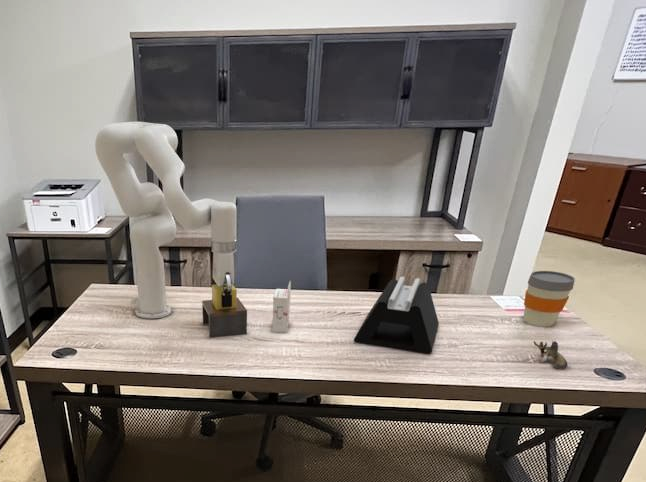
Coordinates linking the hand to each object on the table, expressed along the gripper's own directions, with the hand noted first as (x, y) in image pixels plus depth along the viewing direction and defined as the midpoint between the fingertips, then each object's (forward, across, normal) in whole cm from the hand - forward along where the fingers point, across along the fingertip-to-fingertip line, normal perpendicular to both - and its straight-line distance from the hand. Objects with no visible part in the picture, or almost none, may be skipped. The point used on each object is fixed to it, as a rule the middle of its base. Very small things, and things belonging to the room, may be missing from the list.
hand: (224, 302), depth 168 cm
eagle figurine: (+9, +45, +83) cm, 95 cm away
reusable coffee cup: (+9, +19, +102) cm, 104 cm away
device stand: (+9, +18, +52) cm, 56 cm away
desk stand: (+9, 0, 0) cm, 9 cm away
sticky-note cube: (+1, 0, 0) cm, 1 cm away
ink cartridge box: (+9, +3, +18) cm, 20 cm away
